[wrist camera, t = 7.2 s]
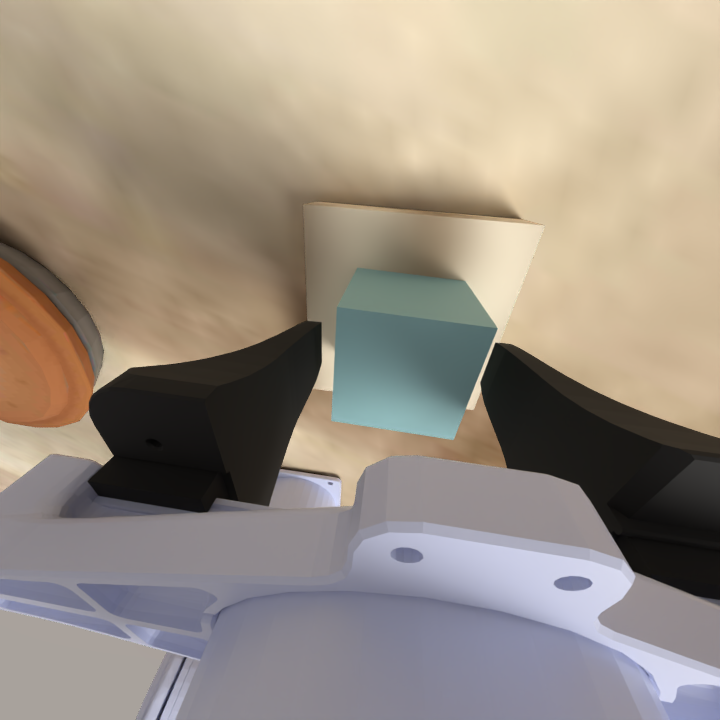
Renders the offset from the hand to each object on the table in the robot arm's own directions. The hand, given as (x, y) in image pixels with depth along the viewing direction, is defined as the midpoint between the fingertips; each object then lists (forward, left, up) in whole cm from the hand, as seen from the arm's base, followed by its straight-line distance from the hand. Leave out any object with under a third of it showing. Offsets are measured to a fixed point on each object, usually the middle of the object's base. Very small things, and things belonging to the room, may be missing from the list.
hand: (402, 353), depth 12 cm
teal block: (0, 0, -3) cm, 3 cm away
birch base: (0, 0, -5) cm, 5 cm away
